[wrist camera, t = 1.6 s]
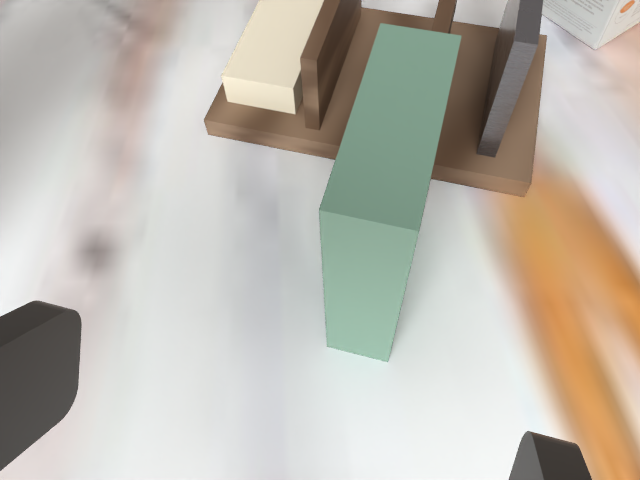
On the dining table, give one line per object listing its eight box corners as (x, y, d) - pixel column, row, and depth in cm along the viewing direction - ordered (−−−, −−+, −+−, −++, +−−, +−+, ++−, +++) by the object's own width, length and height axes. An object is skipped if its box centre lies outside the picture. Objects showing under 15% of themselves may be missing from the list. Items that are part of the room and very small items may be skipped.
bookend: (476, 154, 36) (513, 41, 28) (495, 41, 41) (531, -80, 33) (495, 157, 36) (538, 44, 28) (512, 43, 41) (552, -78, 33)
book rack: (208, 134, 39) (182, 50, 33) (269, 9, 46) (257, -82, 40) (524, 197, 36) (564, 116, 30) (540, 51, 43) (576, -40, 36)
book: (327, 346, 31) (318, 210, 19) (366, 204, 36) (380, 23, 24) (388, 362, 31) (419, 231, 19) (420, 215, 36) (461, 35, 23)
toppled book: (227, 101, 39) (221, 75, 37) (271, 10, 44) (267, -17, 42) (295, 114, 38) (292, 88, 36) (332, 20, 43) (332, -8, 41)
